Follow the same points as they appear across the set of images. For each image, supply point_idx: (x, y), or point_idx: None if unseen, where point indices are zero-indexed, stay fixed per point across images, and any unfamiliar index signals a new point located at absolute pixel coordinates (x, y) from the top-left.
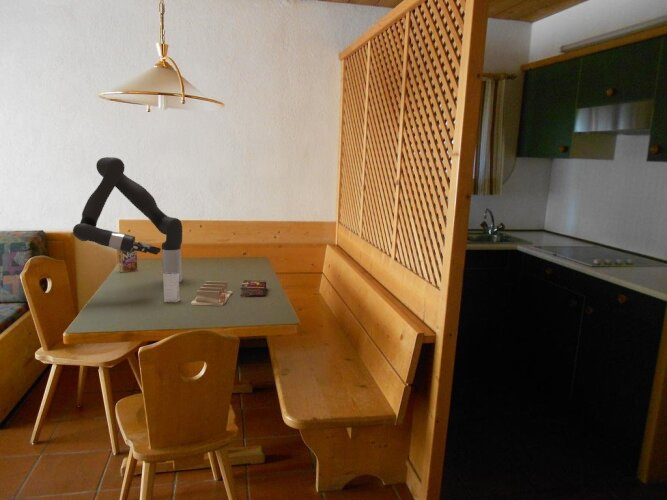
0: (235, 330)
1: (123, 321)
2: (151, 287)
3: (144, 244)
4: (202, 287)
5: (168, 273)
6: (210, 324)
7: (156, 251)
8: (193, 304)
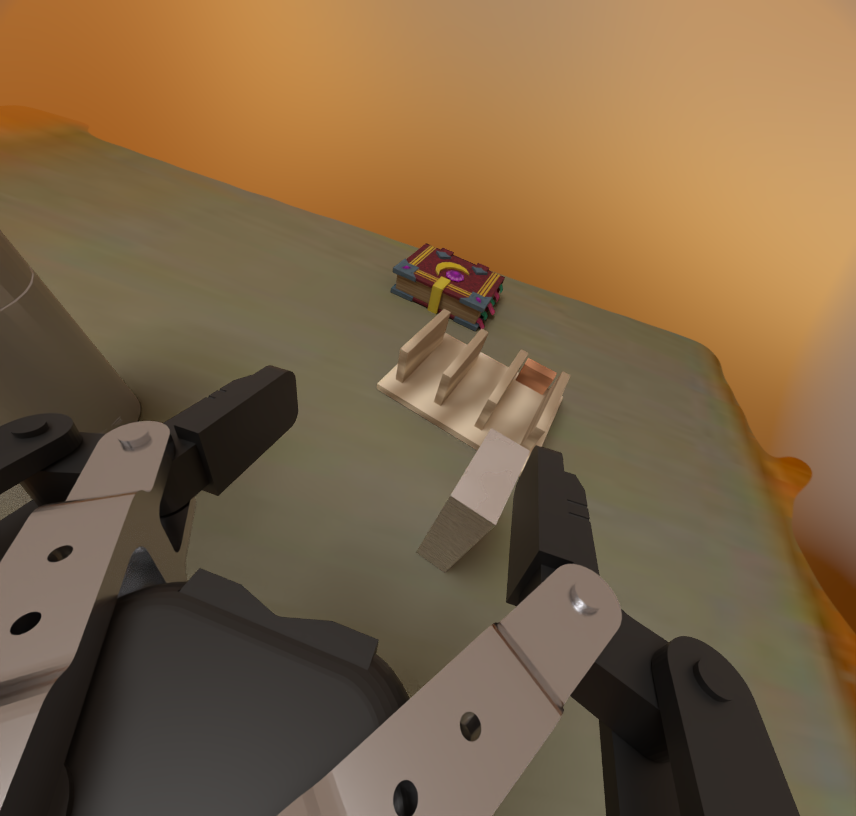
0: (783, 459)
1: None
2: None
3: (432, 684)
4: (495, 394)
5: (497, 488)
6: (745, 498)
7: (570, 485)
8: None
